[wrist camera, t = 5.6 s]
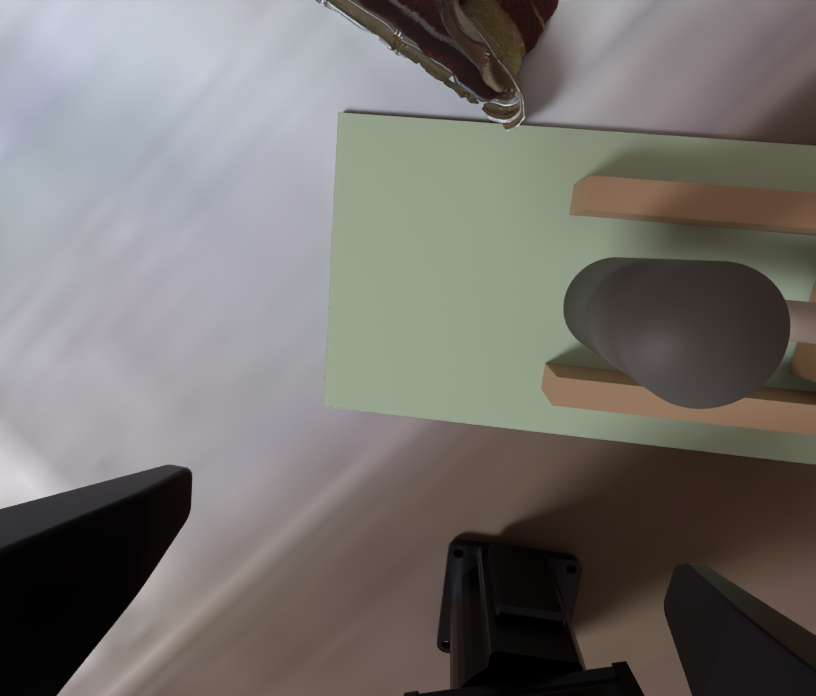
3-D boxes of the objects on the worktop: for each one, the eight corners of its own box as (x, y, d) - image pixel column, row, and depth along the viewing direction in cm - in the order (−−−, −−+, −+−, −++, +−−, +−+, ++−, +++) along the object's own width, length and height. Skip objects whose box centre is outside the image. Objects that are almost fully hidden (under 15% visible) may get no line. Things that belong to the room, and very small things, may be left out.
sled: (890, 383, 18) (1346, 519, 9) (533, 345, 19) (609, 433, 10) (930, 265, 17) (1494, 283, 8) (550, 232, 18) (654, 213, 9)
